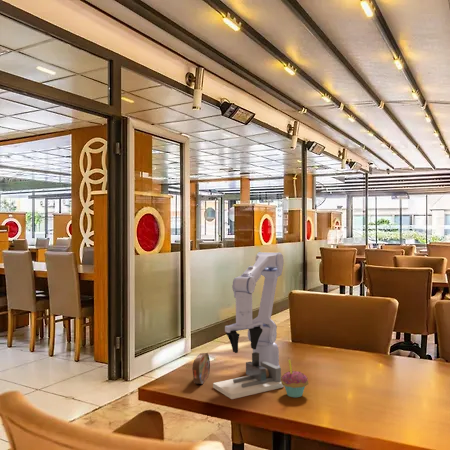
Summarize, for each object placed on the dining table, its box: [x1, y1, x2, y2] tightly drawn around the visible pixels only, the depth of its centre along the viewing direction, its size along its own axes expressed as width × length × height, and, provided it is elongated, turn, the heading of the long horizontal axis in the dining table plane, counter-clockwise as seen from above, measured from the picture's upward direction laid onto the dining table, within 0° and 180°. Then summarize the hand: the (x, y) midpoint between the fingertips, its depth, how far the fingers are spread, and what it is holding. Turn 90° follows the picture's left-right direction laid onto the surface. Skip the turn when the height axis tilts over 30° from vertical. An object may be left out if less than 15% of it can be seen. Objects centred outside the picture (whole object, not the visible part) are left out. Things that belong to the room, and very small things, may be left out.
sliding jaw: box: [245, 352, 266, 382], centre depth 153 cm, size 2×9×8 cm, turn 30°
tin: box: [192, 352, 211, 385], centre depth 160 cm, size 15×3×8 cm, turn 168°
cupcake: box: [281, 358, 309, 398], centre depth 145 cm, size 9×8×12 cm
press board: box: [212, 361, 285, 400], centre depth 152 cm, size 20×12×6 cm, turn 120°
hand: (244, 350), depth 159 cm, fingers open, 7 cm apart
